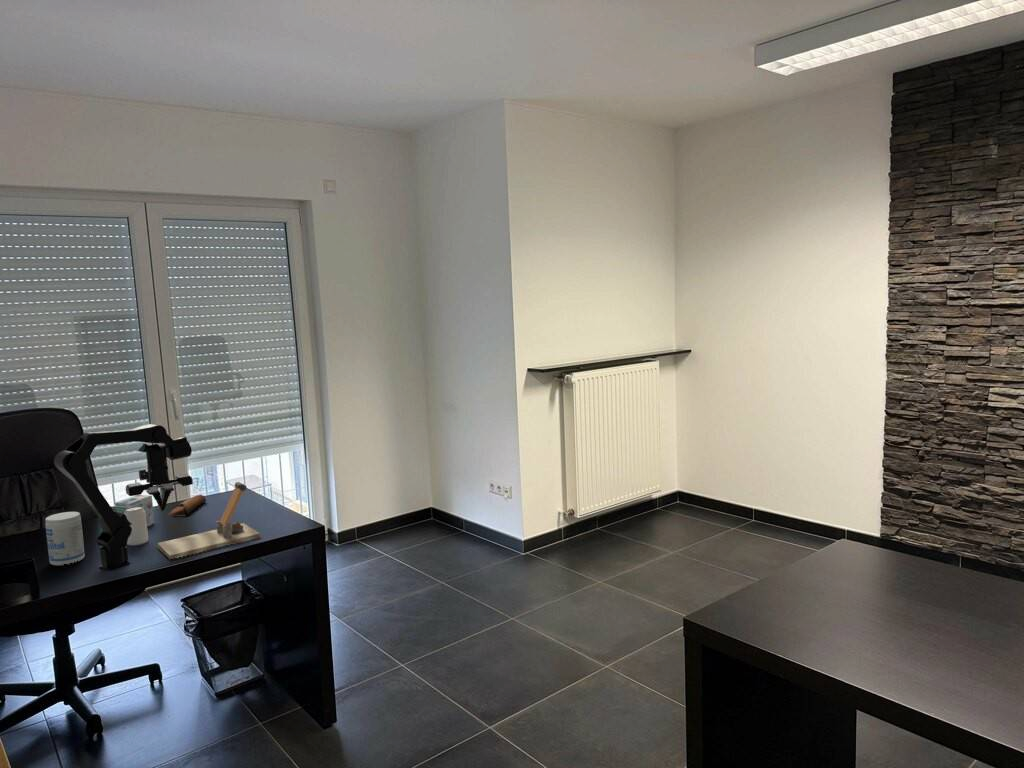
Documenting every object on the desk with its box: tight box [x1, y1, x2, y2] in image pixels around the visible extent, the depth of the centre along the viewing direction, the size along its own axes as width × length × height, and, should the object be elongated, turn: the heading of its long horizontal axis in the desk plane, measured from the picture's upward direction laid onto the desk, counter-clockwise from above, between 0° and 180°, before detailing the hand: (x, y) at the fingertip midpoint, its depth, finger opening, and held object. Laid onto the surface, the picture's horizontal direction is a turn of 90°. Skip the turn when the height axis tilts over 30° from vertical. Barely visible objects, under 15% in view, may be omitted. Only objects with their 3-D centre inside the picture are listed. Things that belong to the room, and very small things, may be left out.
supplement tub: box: [45, 511, 86, 566], centre depth 225 cm, size 10×10×15 cm
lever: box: [219, 481, 247, 525], centre depth 241 cm, size 2×6×14 cm, turn 39°
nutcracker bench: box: [157, 520, 261, 560], centre depth 236 cm, size 28×16×6 cm, turn 129°
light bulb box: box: [114, 494, 155, 527], centre depth 257 cm, size 11×7×11 cm, turn 161°
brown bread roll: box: [167, 494, 207, 516], centre depth 277 cm, size 18×7×7 cm, turn 2°
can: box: [124, 506, 149, 547], centre depth 239 cm, size 6×6×12 cm
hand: (162, 510), depth 230 cm, fingers closed
